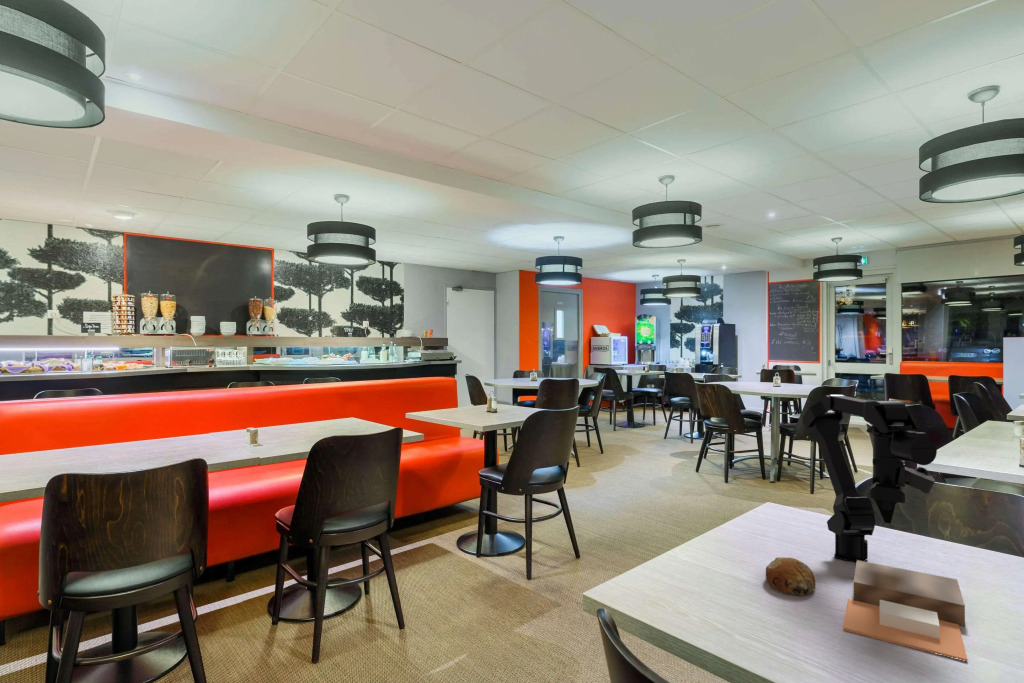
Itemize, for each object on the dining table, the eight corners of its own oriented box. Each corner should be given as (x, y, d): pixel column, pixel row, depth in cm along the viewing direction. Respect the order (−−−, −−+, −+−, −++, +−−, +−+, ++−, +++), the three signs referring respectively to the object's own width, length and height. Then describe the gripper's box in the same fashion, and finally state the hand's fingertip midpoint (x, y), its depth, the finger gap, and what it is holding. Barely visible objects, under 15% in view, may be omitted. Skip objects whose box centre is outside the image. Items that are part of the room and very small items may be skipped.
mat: (843, 630, 101) (843, 627, 101) (847, 601, 113) (847, 598, 113) (967, 662, 91) (967, 659, 91) (958, 627, 102) (958, 624, 102)
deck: (853, 600, 113) (853, 581, 113) (856, 577, 124) (856, 560, 124) (964, 626, 103) (964, 605, 103) (957, 598, 114) (957, 579, 114)
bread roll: (814, 601, 120) (812, 563, 124) (818, 599, 112) (816, 558, 115) (765, 592, 125) (765, 556, 128) (766, 590, 116) (765, 551, 119)
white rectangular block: (879, 599, 107) (879, 611, 107) (879, 611, 102) (879, 624, 102) (936, 612, 102) (936, 625, 102) (939, 625, 97) (939, 639, 97)
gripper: (934, 467, 111) (934, 543, 111) (929, 452, 126) (929, 518, 126) (870, 460, 118) (870, 532, 118) (873, 447, 133) (873, 510, 133)
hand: (887, 523), depth 123 cm, fingers closed
